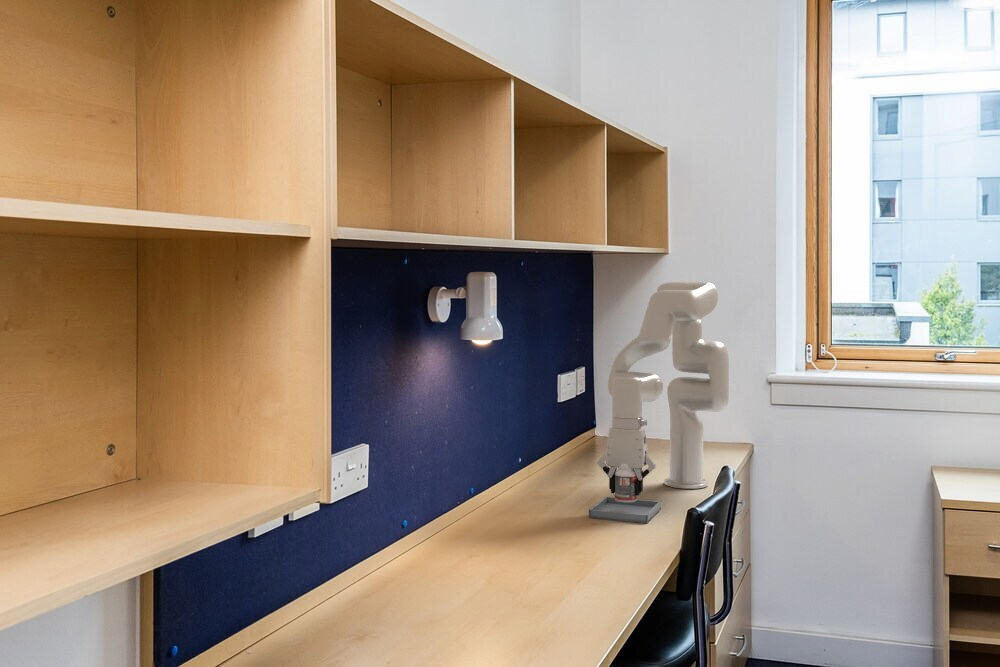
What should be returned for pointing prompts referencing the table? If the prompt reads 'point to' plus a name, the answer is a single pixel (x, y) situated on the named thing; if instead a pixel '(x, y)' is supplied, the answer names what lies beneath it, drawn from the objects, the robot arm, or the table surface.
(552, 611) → the table surface
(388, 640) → the table surface
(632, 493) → the pill bottle
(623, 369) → the robot arm
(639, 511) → the slate tray
